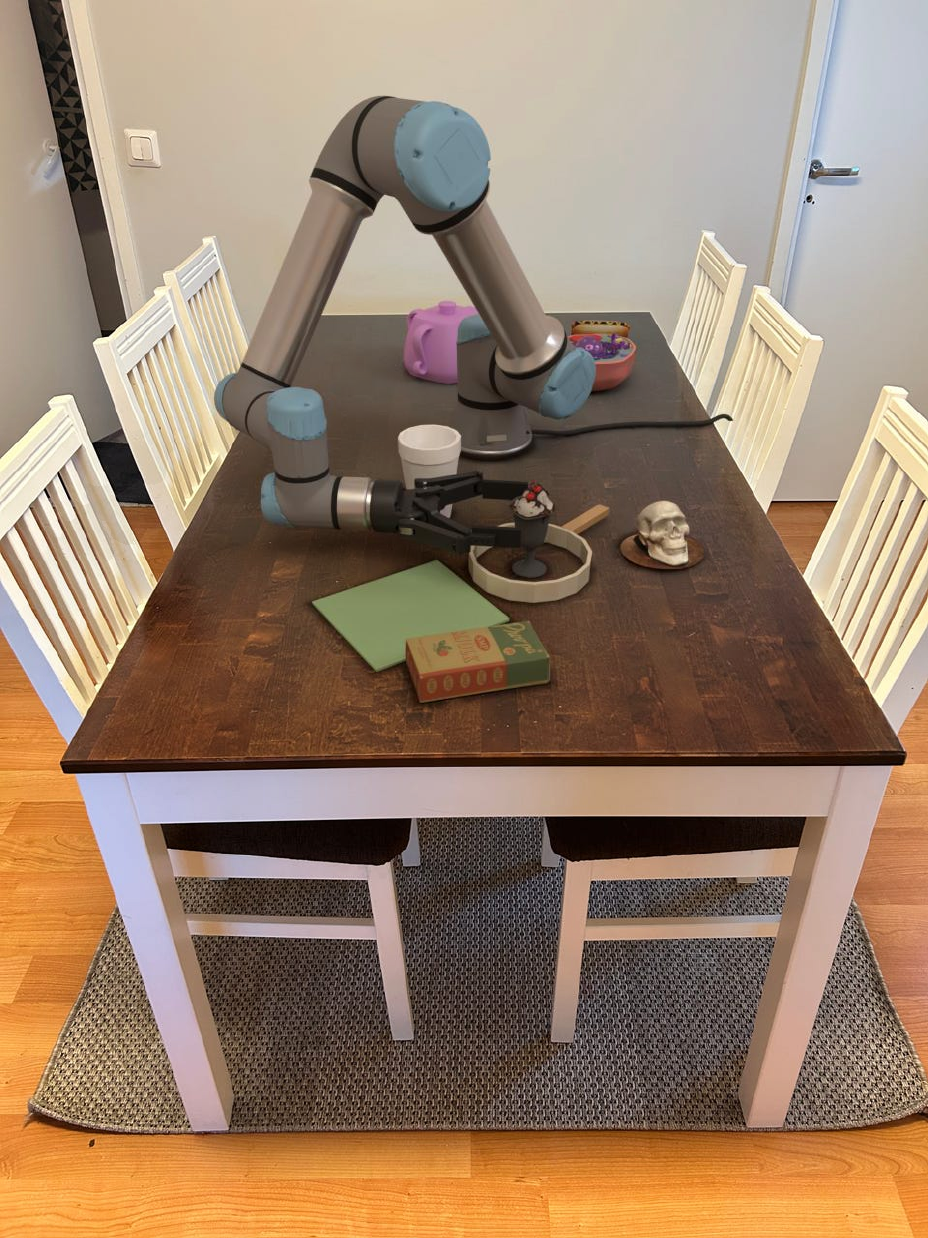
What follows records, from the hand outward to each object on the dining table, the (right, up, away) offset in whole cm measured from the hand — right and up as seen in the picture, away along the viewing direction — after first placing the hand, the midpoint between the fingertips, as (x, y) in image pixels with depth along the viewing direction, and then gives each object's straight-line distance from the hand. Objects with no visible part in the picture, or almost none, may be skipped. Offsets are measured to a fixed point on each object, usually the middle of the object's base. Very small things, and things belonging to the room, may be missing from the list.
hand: (524, 513), depth 128 cm
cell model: (+18, +34, +65) cm, 75 cm away
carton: (-7, -21, -15) cm, 27 cm away
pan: (+5, -6, +7) cm, 11 cm away
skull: (+21, -5, +9) cm, 23 cm away
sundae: (+1, -8, +5) cm, 9 cm away
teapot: (-10, +39, +72) cm, 82 cm away
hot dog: (+23, +49, +87) cm, 102 cm away
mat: (-16, -14, -4) cm, 21 cm away
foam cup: (-14, +2, +19) cm, 23 cm away
